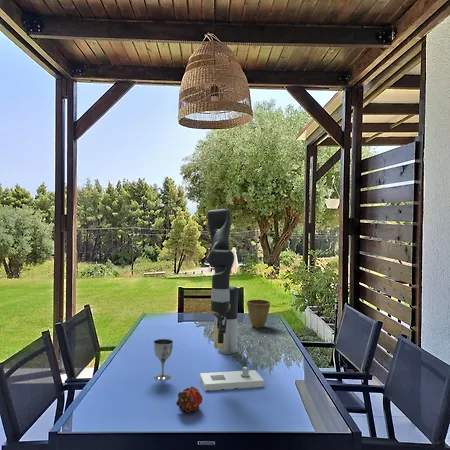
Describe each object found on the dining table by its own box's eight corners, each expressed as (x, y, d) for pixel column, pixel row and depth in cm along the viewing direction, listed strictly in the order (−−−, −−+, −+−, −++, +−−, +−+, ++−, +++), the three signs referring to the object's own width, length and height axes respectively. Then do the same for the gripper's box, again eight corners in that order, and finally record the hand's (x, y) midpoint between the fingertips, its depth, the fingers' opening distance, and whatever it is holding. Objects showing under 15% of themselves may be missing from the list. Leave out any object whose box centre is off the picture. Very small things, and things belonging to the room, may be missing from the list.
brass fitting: (213, 345, 168) (213, 323, 168) (223, 345, 169) (223, 323, 169) (215, 348, 164) (215, 326, 164) (225, 348, 165) (225, 325, 165)
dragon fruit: (182, 423, 136) (190, 412, 148) (203, 409, 136) (210, 399, 148) (169, 400, 138) (178, 391, 150) (189, 386, 138) (197, 378, 149)
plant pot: (242, 325, 266) (242, 300, 266) (262, 323, 272) (262, 299, 272) (253, 330, 252) (254, 304, 252) (274, 328, 259) (274, 303, 259)
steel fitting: (241, 381, 170) (241, 366, 170) (247, 380, 171) (247, 366, 171) (243, 383, 168) (243, 368, 168) (249, 383, 168) (249, 368, 168)
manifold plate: (199, 379, 171) (199, 373, 171) (255, 375, 176) (255, 370, 176) (204, 390, 159) (204, 384, 159) (263, 386, 165) (263, 380, 165)
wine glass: (153, 381, 168) (154, 344, 168) (152, 374, 175) (152, 339, 175) (173, 379, 170) (174, 343, 170) (170, 373, 177) (171, 338, 177)
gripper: (207, 296, 173) (207, 337, 173) (214, 302, 159) (213, 347, 159) (225, 296, 174) (224, 336, 174) (233, 302, 161) (232, 346, 161)
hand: (219, 341), depth 167 cm, fingers closed on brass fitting, 4 cm apart
